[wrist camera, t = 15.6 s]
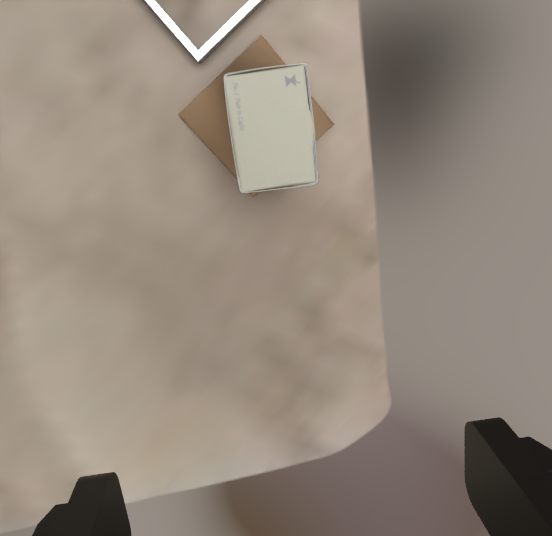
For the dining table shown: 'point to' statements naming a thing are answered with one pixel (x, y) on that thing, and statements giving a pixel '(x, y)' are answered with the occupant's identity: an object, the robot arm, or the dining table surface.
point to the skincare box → (272, 127)
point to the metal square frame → (217, 38)
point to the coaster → (213, 113)
